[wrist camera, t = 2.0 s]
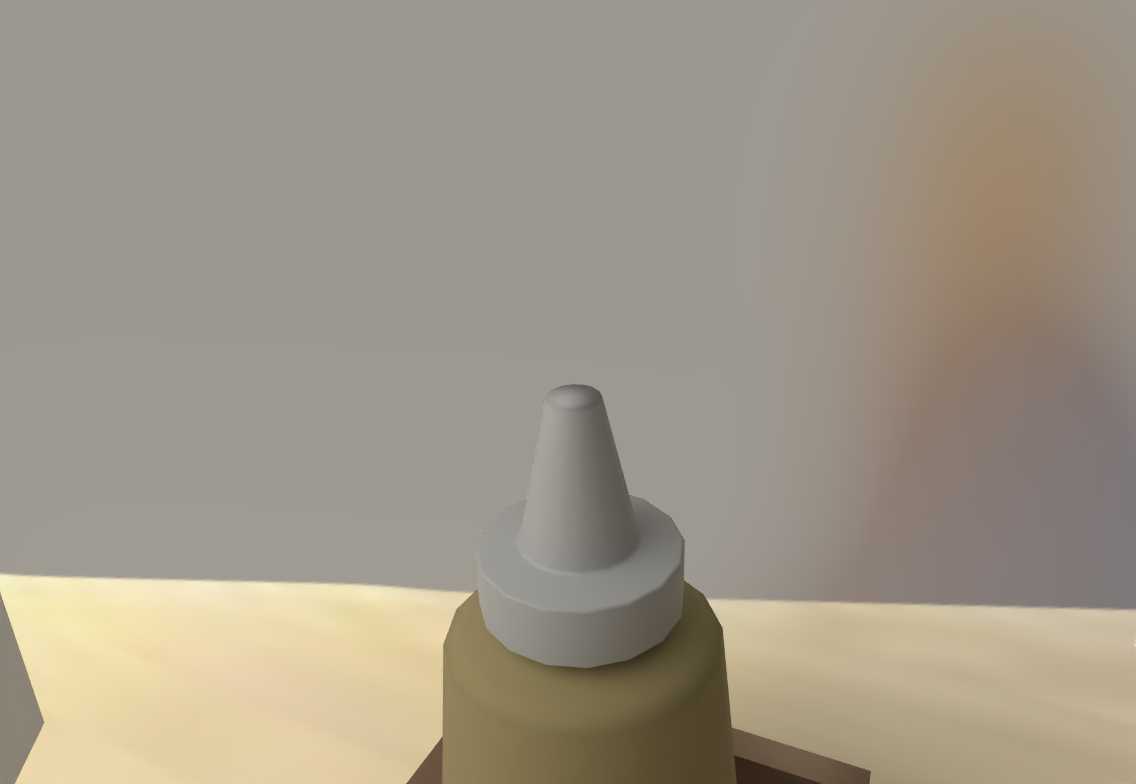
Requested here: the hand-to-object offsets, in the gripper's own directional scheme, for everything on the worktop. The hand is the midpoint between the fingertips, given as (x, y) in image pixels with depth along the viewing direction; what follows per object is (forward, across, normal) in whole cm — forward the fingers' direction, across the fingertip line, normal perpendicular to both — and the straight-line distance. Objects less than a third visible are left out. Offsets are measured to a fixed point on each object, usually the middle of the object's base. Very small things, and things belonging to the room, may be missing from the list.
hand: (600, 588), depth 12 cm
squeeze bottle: (+10, +1, -21) cm, 23 cm away
